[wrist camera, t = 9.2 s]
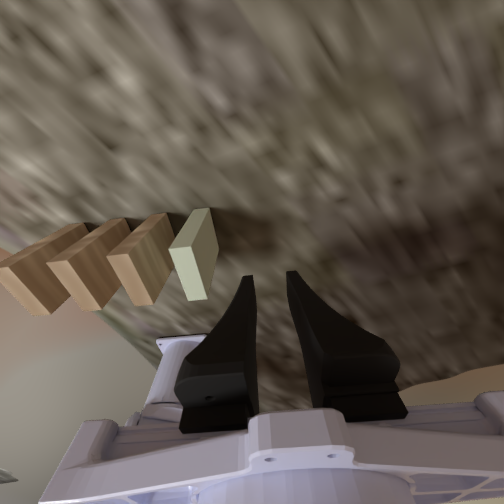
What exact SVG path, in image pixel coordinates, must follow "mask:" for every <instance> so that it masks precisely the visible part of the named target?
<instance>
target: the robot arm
mask: <svg viewBox="0 0 504 504" xmlns="http://www.w3.org/2000/svg"><path fill="white" fill-rule="evenodd" d="M286 279H287V297H288V302H289V308H290V311H291V314H292V318H293V321H294V324H295V327H296V331H297V334H298V337H299V340H300V344H301V349H302V353H303V358H304V363H305V368H306V373H307V378H308V383H309V388H310V394H311V399H312V404H313V408H312V409H298V410H284V411H270V412H264V413H259V400H258V384H257V366H256V322H257V305H256V295H255V288H254V281H253V275H248V276H243V277H242V280H241V283H240V285H239V288H238V290H237V292H236V294H235V296H234V298H233V300H232V302H231V304H230V305H229V307H228V309H227V310H226V312H225V314H224V315H223V316H222V318H221V319H220V321H219V322H218V323H217V325H216V326H215V327H214V328H213V330H212V331H211V332H210V333H209V334H208V335H205V334H203V335H192V336H181V337H170V338H159V339H157V341H156V343H157V345H158V346H159V348H160V350H161V352H162V353H163V357H162V360H161V362H160V365H159V368H158V371H157V373H156V376H155V379H154V381H153V384H152V387H151V389H150V392H149V395H148V398H147V400H146V403H145V406H144V408H143V410H142V412H141V414H140V412H135V413H134V414H133V415H131V416H130V417H129V418H128V420H127V422H126V424H125V426H123V427H119V426H118V424H117V423H116V422H114V421H113V420H108V419H103V420H89V421H84V422H83V423H82V425H81V427H80V429H79V430H78V432H77V434H76V435H75V437H74V439H73V441H72V443H71V444H70V446H69V448H68V450H67V452H66V453H65V455H64V457H63V459H62V461H61V462H60V464H59V466H58V468H57V469H56V471H55V473H54V475H53V477H52V479H51V480H50V482H49V484H48V486H47V488H46V489H45V491H44V493H43V495H42V496H41V498H40V500H39V502H38V504H441V503H452V502H461V501H470V500H478V499H489V498H500V497H504V390H503V391H490V392H484V393H481V394H479V395H478V396H477V397H476V398H475V399H474V402H464V403H449V404H435V405H421V406H406V407H405V405H404V403H403V401H402V400H401V398H400V396H399V394H398V393H397V392H399V388H398V387H397V385H396V383H395V381H394V380H395V378H396V376H397V374H398V371H399V369H400V361H399V359H398V358H397V356H396V355H395V353H394V352H393V350H392V349H391V348H390V346H389V345H388V344H387V343H386V342H385V340H384V339H382V338H380V337H378V336H376V335H374V334H372V333H370V332H368V331H366V330H364V329H362V328H361V327H359V326H357V325H355V324H354V323H352V322H351V321H349V320H348V319H346V318H345V317H343V316H342V315H340V314H339V313H337V312H336V311H335V310H334V309H332V308H331V307H330V306H329V305H327V304H326V303H325V302H324V301H323V300H322V299H321V298H320V297H319V296H318V295H317V294H316V293H315V292H314V291H313V290H312V289H311V288H310V287H309V286H308V285H307V284H306V282H305V281H304V280H303V279H302V278H301V276H300V275H299V274H298V272H297V271H287V272H286ZM139 415H140V416H139Z"/></svg>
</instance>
